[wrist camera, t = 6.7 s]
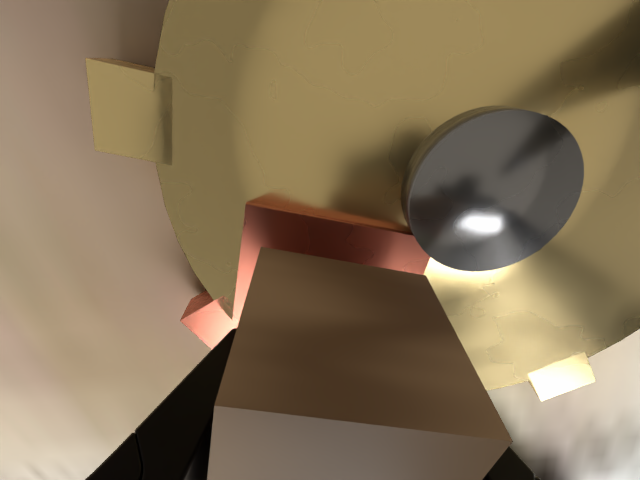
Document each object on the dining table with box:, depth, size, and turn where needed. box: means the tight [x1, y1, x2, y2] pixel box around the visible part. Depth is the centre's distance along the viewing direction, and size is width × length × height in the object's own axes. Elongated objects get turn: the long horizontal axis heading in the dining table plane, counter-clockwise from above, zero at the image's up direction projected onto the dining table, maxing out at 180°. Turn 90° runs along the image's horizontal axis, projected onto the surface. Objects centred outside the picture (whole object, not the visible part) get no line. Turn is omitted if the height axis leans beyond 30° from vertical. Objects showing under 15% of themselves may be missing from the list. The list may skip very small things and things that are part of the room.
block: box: [207, 247, 513, 480], centre depth 8 cm, size 4×4×4 cm
